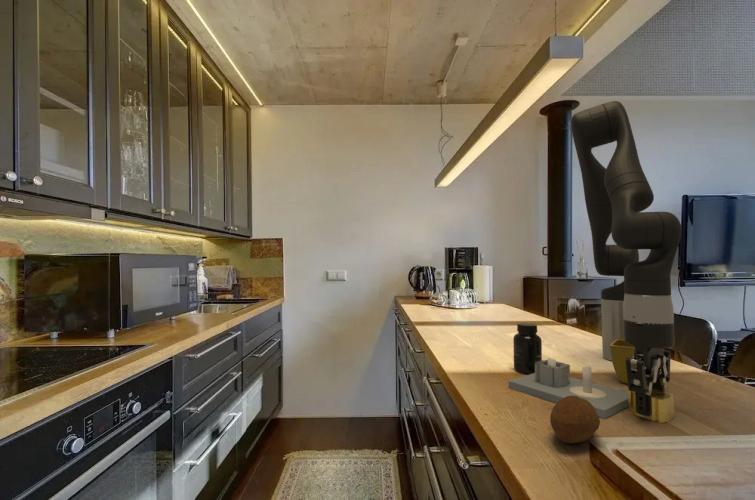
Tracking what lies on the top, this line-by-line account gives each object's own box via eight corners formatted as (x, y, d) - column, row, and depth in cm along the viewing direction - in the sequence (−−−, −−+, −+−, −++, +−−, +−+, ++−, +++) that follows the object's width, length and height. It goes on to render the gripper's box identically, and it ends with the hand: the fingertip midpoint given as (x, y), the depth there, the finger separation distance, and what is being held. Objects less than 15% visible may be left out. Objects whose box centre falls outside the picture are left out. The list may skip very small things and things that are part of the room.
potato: (603, 431, 60) (602, 389, 60) (597, 463, 51) (596, 413, 51) (558, 421, 64) (557, 381, 64) (545, 449, 55) (544, 402, 55)
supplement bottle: (545, 375, 90) (544, 327, 90) (516, 374, 91) (515, 326, 92) (538, 367, 97) (537, 322, 97) (511, 366, 98) (511, 322, 98)
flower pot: (610, 383, 84) (608, 344, 84) (617, 374, 90) (616, 338, 91) (657, 392, 78) (656, 350, 78) (662, 382, 84) (660, 343, 85)
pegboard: (543, 376, 89) (543, 349, 90) (637, 401, 73) (636, 369, 73) (508, 387, 81) (508, 358, 82) (604, 418, 65) (603, 382, 65)
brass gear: (639, 405, 71) (638, 385, 71) (676, 416, 66) (675, 393, 66) (626, 412, 67) (625, 391, 68) (664, 424, 63) (663, 400, 63)
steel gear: (547, 376, 84) (546, 359, 84) (572, 383, 79) (571, 364, 80) (532, 381, 81) (532, 363, 81) (557, 388, 76) (557, 369, 76)
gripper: (640, 313, 74) (643, 396, 74) (607, 319, 66) (610, 412, 66) (686, 317, 68) (689, 408, 68) (657, 325, 60) (660, 428, 60)
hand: (650, 410), depth 67 cm, fingers closed on brass gear, 5 cm apart
